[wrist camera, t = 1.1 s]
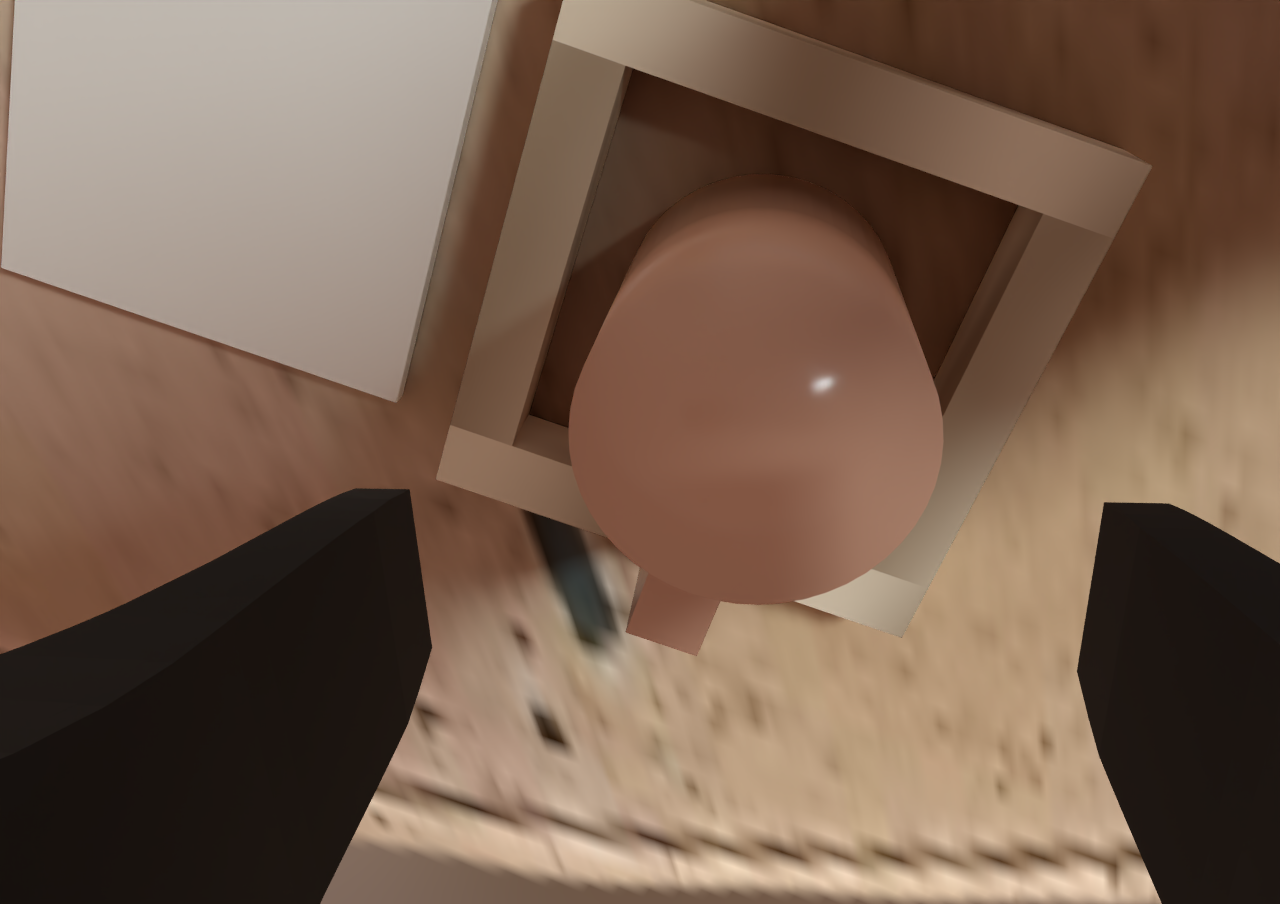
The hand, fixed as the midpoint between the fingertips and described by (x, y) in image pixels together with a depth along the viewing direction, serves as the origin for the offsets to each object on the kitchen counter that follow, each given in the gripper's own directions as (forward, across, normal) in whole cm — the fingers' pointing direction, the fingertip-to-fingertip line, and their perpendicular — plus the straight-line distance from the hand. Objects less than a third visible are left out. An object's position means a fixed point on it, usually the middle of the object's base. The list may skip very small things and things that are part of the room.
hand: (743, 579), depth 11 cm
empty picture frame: (+9, 0, 0) cm, 9 cm away
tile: (+9, +9, -3) cm, 14 cm away
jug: (+9, 0, 0) cm, 9 cm away
